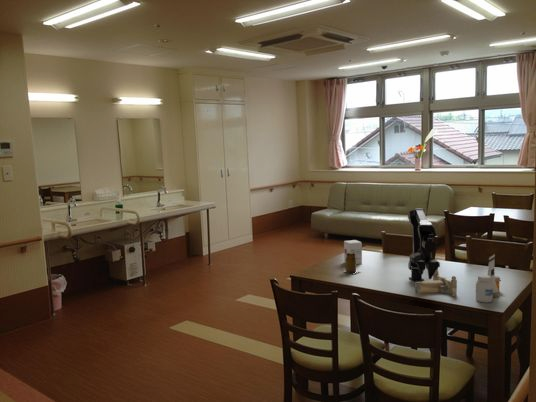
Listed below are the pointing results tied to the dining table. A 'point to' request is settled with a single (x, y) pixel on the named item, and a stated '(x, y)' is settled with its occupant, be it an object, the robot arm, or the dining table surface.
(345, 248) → the supplement box
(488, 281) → the toiletry set
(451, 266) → the dining table surface
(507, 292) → the dining table surface
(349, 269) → the condiment
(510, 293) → the dining table surface
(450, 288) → the beige base with posts
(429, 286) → the beige rectangular block
